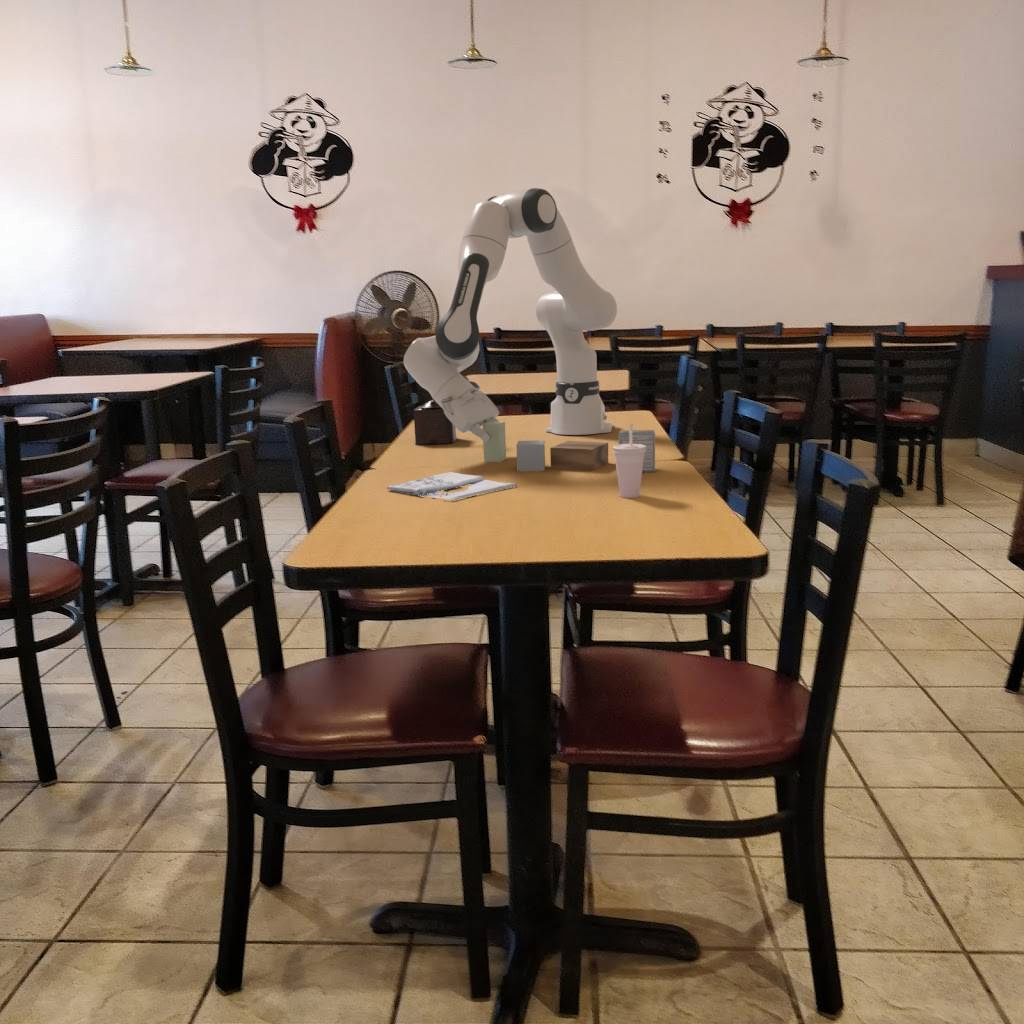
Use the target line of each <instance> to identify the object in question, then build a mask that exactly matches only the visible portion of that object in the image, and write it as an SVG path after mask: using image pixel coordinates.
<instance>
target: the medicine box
mask: <svg viewBox="0 0 1024 1024" xmlns="http://www.w3.org/2000/svg"><path fill="white" fill-rule="evenodd" d="M619 444H630V436H629V430H619V431H618V445H619ZM632 444H642V445H645V446H646V452H645V453H644V461H643V469H642V473H647V472H648V473H650V472H656V432H655V430H654V429H635V430H634V429H632Z"/></svg>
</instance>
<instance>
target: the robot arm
mask: <svg viewBox="0 0 1024 1024" xmlns="http://www.w3.org/2000/svg"><path fill="white" fill-rule="evenodd" d="M556 203H557V202H556V200H555V199H554V197H553V196H552V195H551V193H550V192H549V191H548V190H546V189H543V188H537V187H534V188H530V189H518V190H512V191H509V192H507V193H504V194H500V195H494V196H491V197H490V198H489V197H488V198H487V199H485V200H483V201H481V202H479V203H477V204H476V205H475V206H474V207H473V209H472V211H471V213H470V215H469V218H468V220H467V223H466V225H465V227H464V231H463V234H462V239H461V242H460V247H459V253H458V267H457V268H458V279H457V282H456V287H455V290H454V294H453V298H452V302H451V305H450V307H449V309H448V311H447V312H446V314H445V315H443V317H442V318H441V319H440V321H439V322H438V324H437V326H436V329H435V335H432V336H428V337H417V338H416V339H414V340H413V341H412V342H411V343H410V344H409V345H408V347H407V348H406V350H405V352H404V355H403V366H404V367H405V369H406V371H407V372H408V374H409V375H410V376H411V377H412V379H414V381H416V383H417V384H418V385H419V386H420V387H421V388H423V389H424V390H426V391H427V392H428V393H429V394H430V396H431V399H432V398H433V399H434V400H435V401H436V402H437V403H438V404H439V405H440V406H441V407H442V409H443V410H444V413H445V415H446V416H447V418H448V419H449V420H450V421H451V422H452V424H453V425H454V426H455V427H456V430H457V431H458V432H461V433H462V434H466V433H468V432H471V434H472V435H474V436H476V437H477V438H480V439H481V440H482V442H483V441H484V442H488V441H489V440H490V439H491V435H490V434H489V433H488V432H485V431H484V430H483V424H484V423H486V422H489V421H495V422H500V421H499V419H497V417H498V416H499V414H500V411H499V409H498V407H497V405H495V404H494V402H493V401H492V400H491V398H489V397H488V396H487V395H486V394H485V393H484V392H483V391H481V386H480V385H479V384H478V383H477V382H474V381H471V380H470V379H469V380H467V379H466V378H464V377H463V376H464V375H462V374H461V372H463V371H464V370H466V369H468V368H469V367H470V366H472V365H473V364H474V363H475V362H476V360H478V356H479V354H480V344H479V343H480V342H479V341H480V329H479V328H480V327H479V324H478V311H479V309H480V304H481V301H482V296H483V292H484V288H485V286H486V284H487V283H488V282H491V281H493V280H494V279H496V278H497V277H498V274H499V273H500V270H501V269H502V265H503V262H504V259H505V255H506V252H507V247H508V242H509V239H515V238H517V239H518V238H521V237H525V236H526V239H527V242H528V246H529V249H530V252H531V254H532V258H533V260H534V262H535V264H536V267H537V270H538V272H539V274H540V277H541V279H542V281H543V282H545V283H546V284H547V285H549V286H551V287H552V288H553V289H555V290H553V291H550V292H547V293H545V294H543V295H541V296H540V297H539V299H538V300H537V303H536V308H535V314H536V319H537V321H538V323H539V324H540V325H541V326H542V327H543V328H544V329H545V330H546V332H547V333H548V335H549V337H550V340H551V342H552V345H553V349H554V353H555V360H556V382H555V388H554V389H555V395H556V397H555V399H553V400H552V401H551V403H550V426H548V427H546V428H545V432H546V433H552V434H555V435H565V436H580V435H581V436H582V435H595V434H596V435H597V434H604V433H606V434H607V433H611V432H612V430H613V426H614V423H613V422H612V421H607V414H606V408H605V407H606V406H605V404H604V402H603V400H602V398H601V395H600V380H598V375H597V374H598V367H597V366H598V362H597V361H598V360H597V359H598V358H597V352H596V351H595V349H594V348H593V347H592V346H590V344H589V343H588V342H587V341H586V339H585V336H584V331H590V332H591V331H592V332H593V331H598V330H602V329H605V328H609V327H610V326H612V324H613V323H614V322H615V320H616V318H617V312H618V305H617V302H616V299H615V297H614V296H613V295H612V293H610V292H608V291H607V290H605V289H604V288H602V287H601V286H600V285H599V284H598V283H597V282H596V281H595V280H594V279H593V278H592V277H591V275H590V273H589V272H587V269H586V268H585V267H584V265H583V263H582V261H581V258H580V257H579V255H578V252H577V250H576V247H575V244H574V242H573V239H572V236H571V234H570V231H569V228H568V226H567V224H566V222H565V220H564V218H563V216H562V213H560V211H559V209H558V207H557V204H556Z"/></svg>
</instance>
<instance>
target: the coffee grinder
mask: <svg viewBox="0 0 1024 1024" xmlns="http://www.w3.org/2000/svg"><path fill="white" fill-rule="evenodd" d="M462 376H463V377H464V378H466V379H467V380H469V381H470V379H469V378H468V377H467V376H465V375H462ZM413 420H414V421H413V422H414V423H413V424H414V426H413V427H414V436H415V437H414V439H415V440H414V442H415V443H414V445H416V446H418V445H419V446H421V445H423V446H425V445H446V444H447V445H448V444H453V443H456V441H457V428H456V427H455V426H454V425H453V424H452V422H451V421H450V420H449V419H448V418H447V416H446V415H445V413H444V410H443V409H442V407H441V406H440V405H439V404H438V403H437V402H436V401H435V400H434V399H433V398H432V397H431V400H429V401H426V402H425V403H424V404H422V405H419V406H418V407H417V406H416V408H414V409H413Z"/></svg>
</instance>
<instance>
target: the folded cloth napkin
mask: <svg viewBox="0 0 1024 1024" xmlns="http://www.w3.org/2000/svg"><path fill="white" fill-rule="evenodd" d="M468 484H474V485H471V486H469V487H468V489H467V490H464V491H460V492H455V493H436V492H437V491H441V490H445V491H446V489H449V490H452V489H451V488H454V489H457V488H456V487H460V486H465V485H468ZM514 486H516V487H517V483H514V482H501V481H496V480H495V481H494V480H489V479H484V477H483V476H482V475H473V474H472V475H471V474H463V473H458V472H454V471H449V472H444V473H439V474H435V475H431V476H427V477H422V478H418V479H413V480H410V481H406V482H403V483H398V484H393V485H392V484H391V485H389V486H386V489H387V490H389V491H390V492H394V493H398V494H399V493H400V494H405V493H406V494H407V495H410V494H412V496H415V495H419V496H418V497H421V496H428V497H433V498H442V499H443V498H444V499H445V500H451V501H453V500H457V499H460V498H465V497H468V496H473V495H477V494H482V493H487V492H491V491H496V490H500V489H506V488H510V487H514ZM460 488H461V487H460ZM496 492H497V491H496ZM427 493H428V494H427ZM429 493H432V494H429ZM406 494H405V495H406ZM435 494H436V495H435ZM420 495H421V496H420ZM441 495H442V497H440V496H441Z"/></svg>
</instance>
